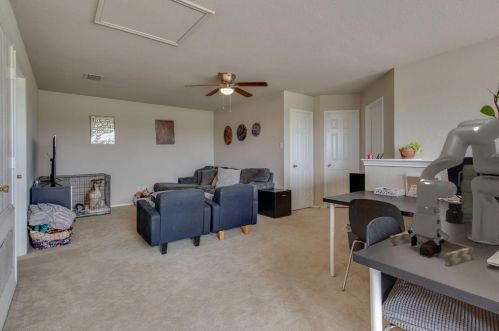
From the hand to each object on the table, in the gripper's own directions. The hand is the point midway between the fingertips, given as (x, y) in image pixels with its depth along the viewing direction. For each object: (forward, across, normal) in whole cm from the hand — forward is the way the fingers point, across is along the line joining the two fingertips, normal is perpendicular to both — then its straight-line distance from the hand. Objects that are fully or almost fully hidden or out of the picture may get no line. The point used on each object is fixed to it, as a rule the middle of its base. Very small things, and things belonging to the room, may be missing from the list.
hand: (425, 249), depth 111 cm
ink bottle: (+2, +23, -67) cm, 71 cm away
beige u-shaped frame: (+1, 0, -2) cm, 2 cm away
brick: (+2, -2, 0) cm, 2 cm away
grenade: (+2, +26, -89) cm, 93 cm away
